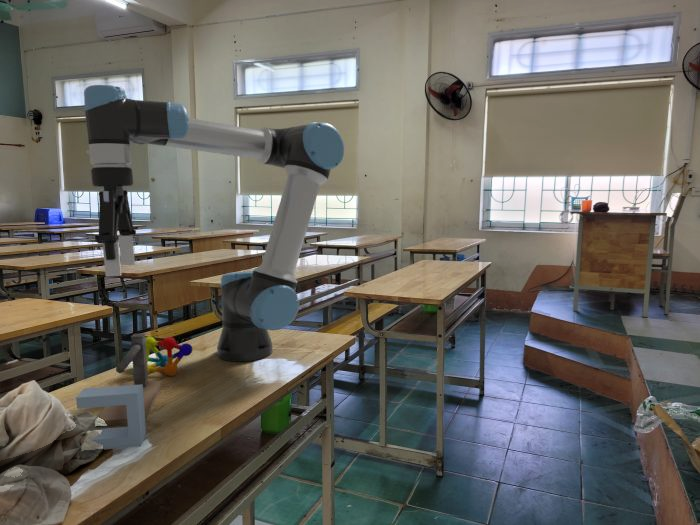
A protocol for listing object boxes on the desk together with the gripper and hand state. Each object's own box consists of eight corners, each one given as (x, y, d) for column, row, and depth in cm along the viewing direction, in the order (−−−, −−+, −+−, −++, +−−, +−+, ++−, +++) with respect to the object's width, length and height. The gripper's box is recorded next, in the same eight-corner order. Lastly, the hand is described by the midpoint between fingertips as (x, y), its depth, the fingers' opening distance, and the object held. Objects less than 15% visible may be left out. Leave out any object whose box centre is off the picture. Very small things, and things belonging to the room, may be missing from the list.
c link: (146, 435, 92) (142, 384, 90) (141, 446, 88) (137, 393, 86) (88, 440, 90) (84, 388, 88) (80, 451, 86) (76, 397, 85)
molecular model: (163, 376, 131) (201, 346, 127) (145, 398, 122) (185, 368, 117) (132, 346, 129) (170, 315, 124) (111, 367, 119) (152, 334, 115)
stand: (162, 385, 115) (158, 331, 113) (143, 423, 96) (139, 359, 94) (121, 388, 113) (117, 333, 111) (94, 427, 95) (89, 362, 93)
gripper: (106, 168, 110) (115, 261, 114) (71, 164, 86) (84, 282, 90) (142, 168, 112) (150, 260, 115) (117, 164, 88) (128, 280, 91)
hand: (121, 270), depth 103 cm, fingers open, 13 cm apart
